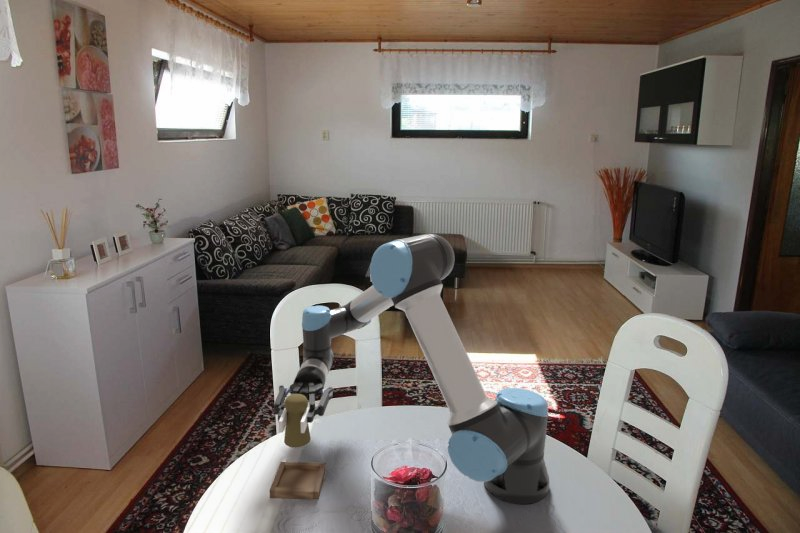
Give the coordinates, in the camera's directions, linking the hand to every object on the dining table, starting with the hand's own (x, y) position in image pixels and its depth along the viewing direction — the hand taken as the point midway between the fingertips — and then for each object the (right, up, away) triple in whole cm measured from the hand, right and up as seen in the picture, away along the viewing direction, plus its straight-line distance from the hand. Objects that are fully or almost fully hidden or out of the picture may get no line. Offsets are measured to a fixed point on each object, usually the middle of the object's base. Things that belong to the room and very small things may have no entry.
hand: (291, 427), depth 124 cm
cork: (0, -5, +7) cm, 9 cm away
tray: (0, -16, +10) cm, 19 cm away
